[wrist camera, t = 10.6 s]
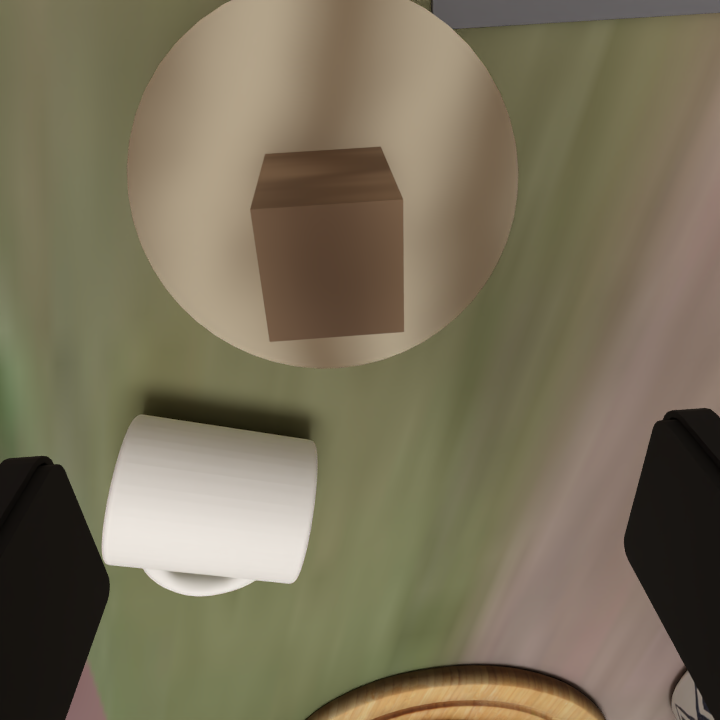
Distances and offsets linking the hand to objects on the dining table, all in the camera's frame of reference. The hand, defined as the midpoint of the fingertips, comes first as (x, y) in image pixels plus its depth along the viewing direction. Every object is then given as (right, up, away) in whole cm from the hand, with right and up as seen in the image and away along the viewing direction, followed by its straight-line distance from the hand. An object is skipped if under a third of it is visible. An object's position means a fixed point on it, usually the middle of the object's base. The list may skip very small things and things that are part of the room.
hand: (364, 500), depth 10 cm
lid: (-1, +8, +13) cm, 15 cm away
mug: (-9, -5, +28) cm, 30 cm away
